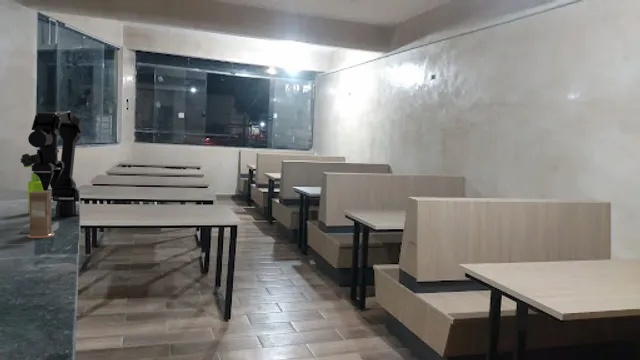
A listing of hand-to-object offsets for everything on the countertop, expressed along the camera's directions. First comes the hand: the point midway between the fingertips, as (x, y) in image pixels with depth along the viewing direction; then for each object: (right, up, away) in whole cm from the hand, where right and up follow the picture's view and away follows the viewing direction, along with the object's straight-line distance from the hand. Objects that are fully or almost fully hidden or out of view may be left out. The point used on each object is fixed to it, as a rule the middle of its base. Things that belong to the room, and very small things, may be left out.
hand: (49, 189), depth 173 cm
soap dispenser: (-19, -11, +23) cm, 32 cm away
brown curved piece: (+8, -15, -19) cm, 25 cm away
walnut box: (+8, -14, -19) cm, 25 cm away
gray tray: (+4, -14, -11) cm, 18 cm away
